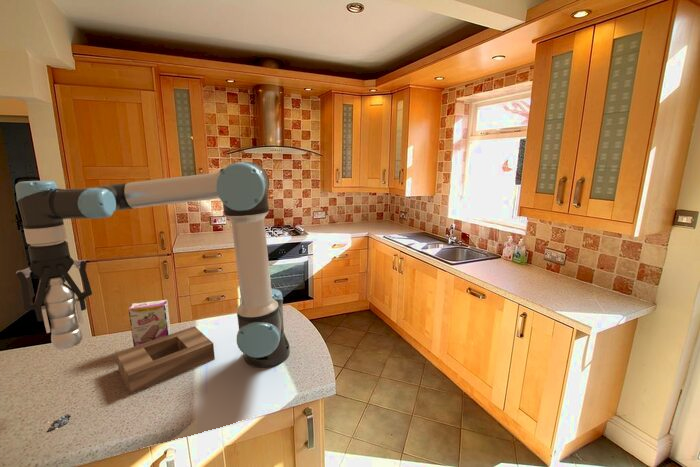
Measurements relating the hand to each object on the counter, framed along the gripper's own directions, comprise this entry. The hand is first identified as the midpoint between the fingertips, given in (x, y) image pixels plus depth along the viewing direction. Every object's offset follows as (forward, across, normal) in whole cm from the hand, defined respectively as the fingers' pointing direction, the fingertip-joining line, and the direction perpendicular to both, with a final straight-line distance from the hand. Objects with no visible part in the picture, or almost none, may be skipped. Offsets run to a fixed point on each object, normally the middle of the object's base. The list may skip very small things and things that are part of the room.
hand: (65, 326), depth 88 cm
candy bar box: (+22, -22, -13) cm, 34 cm away
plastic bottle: (+6, 0, 0) cm, 6 cm away
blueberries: (+22, +5, +8) cm, 24 cm away
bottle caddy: (+22, -22, +2) cm, 31 cm away
